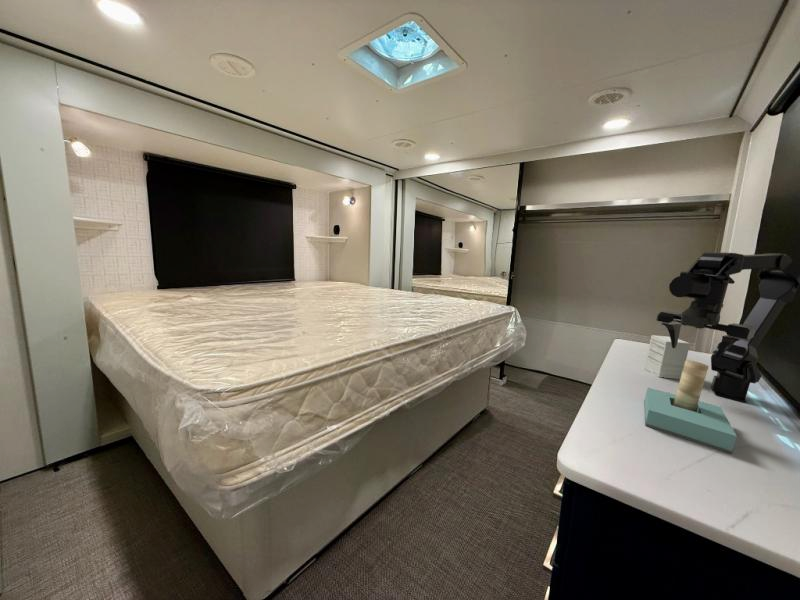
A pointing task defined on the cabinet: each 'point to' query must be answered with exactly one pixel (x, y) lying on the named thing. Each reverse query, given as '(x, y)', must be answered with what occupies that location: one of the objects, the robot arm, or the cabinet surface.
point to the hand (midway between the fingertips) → (694, 353)
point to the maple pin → (690, 385)
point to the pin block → (689, 421)
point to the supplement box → (666, 357)
